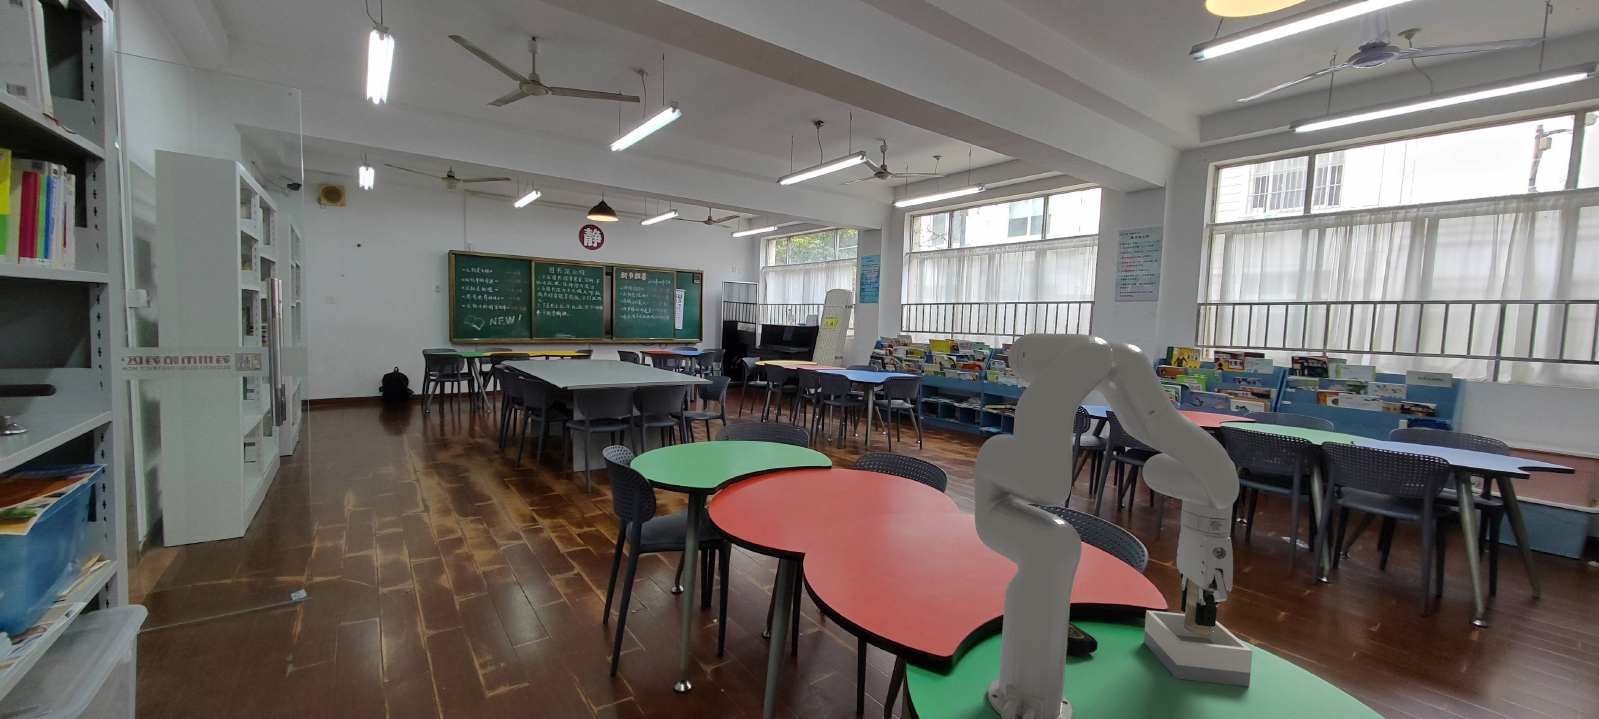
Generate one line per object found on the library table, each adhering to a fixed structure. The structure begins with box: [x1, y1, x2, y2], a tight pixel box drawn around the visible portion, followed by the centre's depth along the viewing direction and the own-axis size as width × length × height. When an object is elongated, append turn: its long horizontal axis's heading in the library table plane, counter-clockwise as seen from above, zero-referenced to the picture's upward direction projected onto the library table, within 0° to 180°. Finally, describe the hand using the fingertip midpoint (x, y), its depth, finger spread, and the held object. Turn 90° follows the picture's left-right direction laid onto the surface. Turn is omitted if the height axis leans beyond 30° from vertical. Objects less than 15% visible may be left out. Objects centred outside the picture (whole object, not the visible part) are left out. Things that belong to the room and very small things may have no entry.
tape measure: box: [1066, 622, 1099, 657], centre depth 109 cm, size 7×7×4 cm
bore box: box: [1143, 609, 1253, 688], centre depth 106 cm, size 12×12×6 cm
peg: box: [1184, 578, 1213, 636], centre depth 106 cm, size 4×4×10 cm
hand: (1197, 617), depth 106 cm, fingers closed on peg, 4 cm apart
